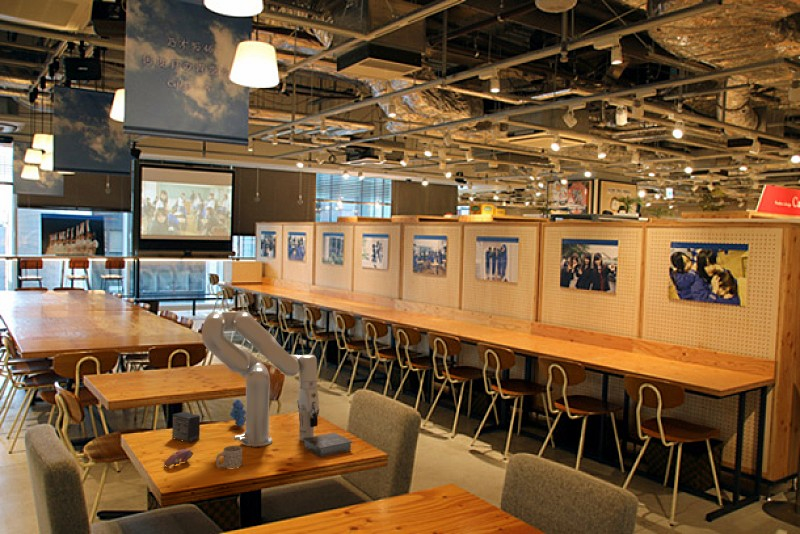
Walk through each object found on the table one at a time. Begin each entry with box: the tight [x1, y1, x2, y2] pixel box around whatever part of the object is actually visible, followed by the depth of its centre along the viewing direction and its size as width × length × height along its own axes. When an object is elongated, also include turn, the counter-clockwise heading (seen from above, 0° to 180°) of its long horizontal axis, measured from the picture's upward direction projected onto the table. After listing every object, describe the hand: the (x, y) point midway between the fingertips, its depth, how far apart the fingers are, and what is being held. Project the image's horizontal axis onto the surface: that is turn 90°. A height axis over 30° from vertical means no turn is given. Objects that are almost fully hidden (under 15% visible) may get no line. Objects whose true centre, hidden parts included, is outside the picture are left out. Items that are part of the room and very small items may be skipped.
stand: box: [303, 432, 353, 458], centre depth 260 cm, size 15×14×4 cm
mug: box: [215, 445, 243, 469], centre depth 238 cm, size 10×7×7 cm
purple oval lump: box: [164, 448, 194, 467], centre depth 239 cm, size 10×5×7 cm, turn 148°
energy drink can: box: [298, 405, 315, 443], centre depth 272 cm, size 6×6×15 cm
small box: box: [171, 411, 201, 443], centre depth 269 cm, size 11×6×10 cm, turn 58°
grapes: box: [229, 399, 246, 428], centre depth 289 cm, size 12×7×12 cm, turn 37°
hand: (308, 423), depth 272 cm, fingers open, 9 cm apart
